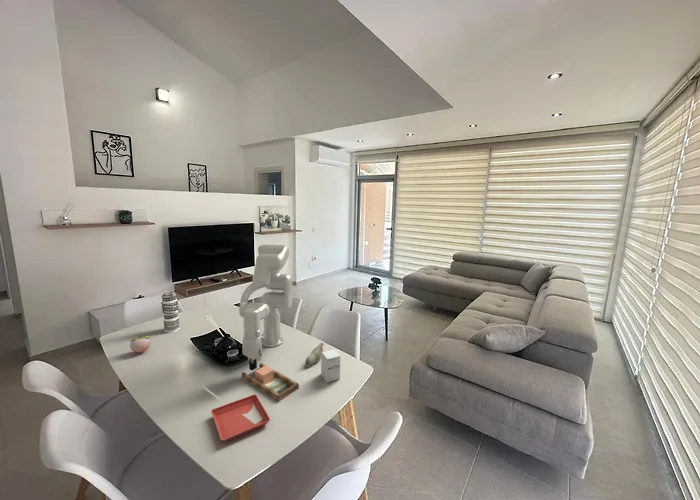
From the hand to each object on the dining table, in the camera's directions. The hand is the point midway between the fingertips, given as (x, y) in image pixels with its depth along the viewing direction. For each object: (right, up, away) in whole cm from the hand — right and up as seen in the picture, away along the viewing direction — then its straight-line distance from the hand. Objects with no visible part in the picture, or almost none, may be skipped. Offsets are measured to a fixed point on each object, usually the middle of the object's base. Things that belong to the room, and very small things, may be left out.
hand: (253, 368), depth 146 cm
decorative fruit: (-68, +1, +18) cm, 70 cm away
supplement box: (+38, -5, +1) cm, 38 cm away
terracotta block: (+7, -4, -4) cm, 9 cm away
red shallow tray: (+4, -10, -29) cm, 31 cm away
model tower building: (-68, +6, +47) cm, 82 cm away
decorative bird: (+29, -2, +14) cm, 32 cm away
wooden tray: (+9, -5, -5) cm, 12 cm away
